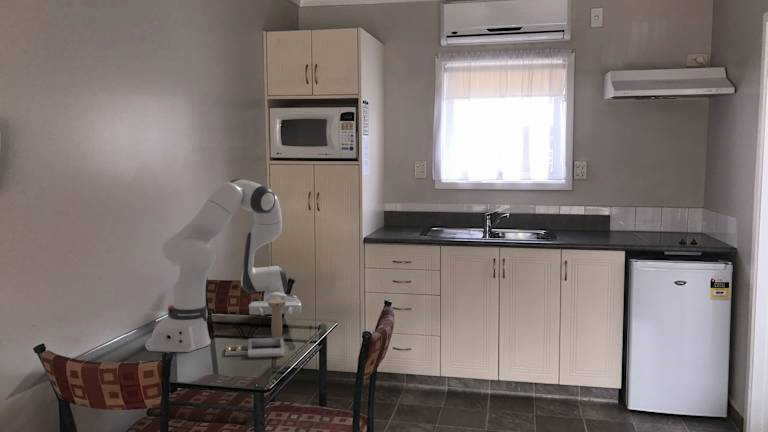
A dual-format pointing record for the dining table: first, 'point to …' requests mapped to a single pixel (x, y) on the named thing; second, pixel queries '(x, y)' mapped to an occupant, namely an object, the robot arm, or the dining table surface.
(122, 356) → the dining table surface
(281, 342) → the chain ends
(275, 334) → the handle
